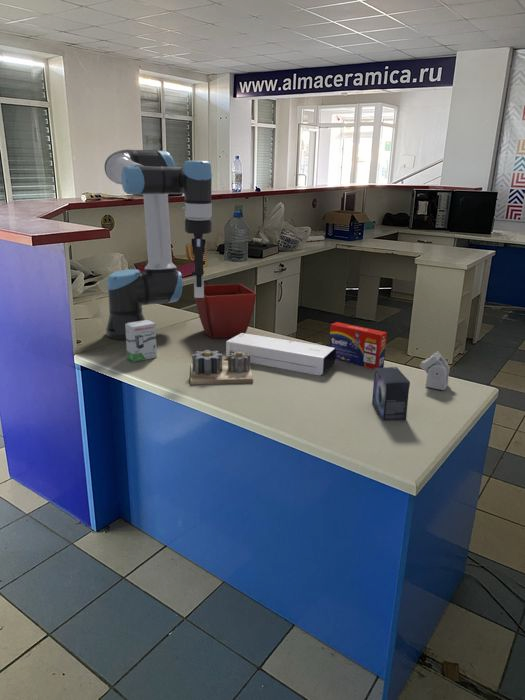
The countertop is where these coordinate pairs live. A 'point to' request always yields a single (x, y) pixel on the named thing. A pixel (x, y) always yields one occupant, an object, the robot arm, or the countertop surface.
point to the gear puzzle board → (227, 371)
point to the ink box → (141, 340)
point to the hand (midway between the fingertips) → (199, 291)
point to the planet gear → (207, 362)
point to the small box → (390, 393)
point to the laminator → (283, 353)
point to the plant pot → (225, 309)
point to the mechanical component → (436, 371)
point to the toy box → (358, 345)
